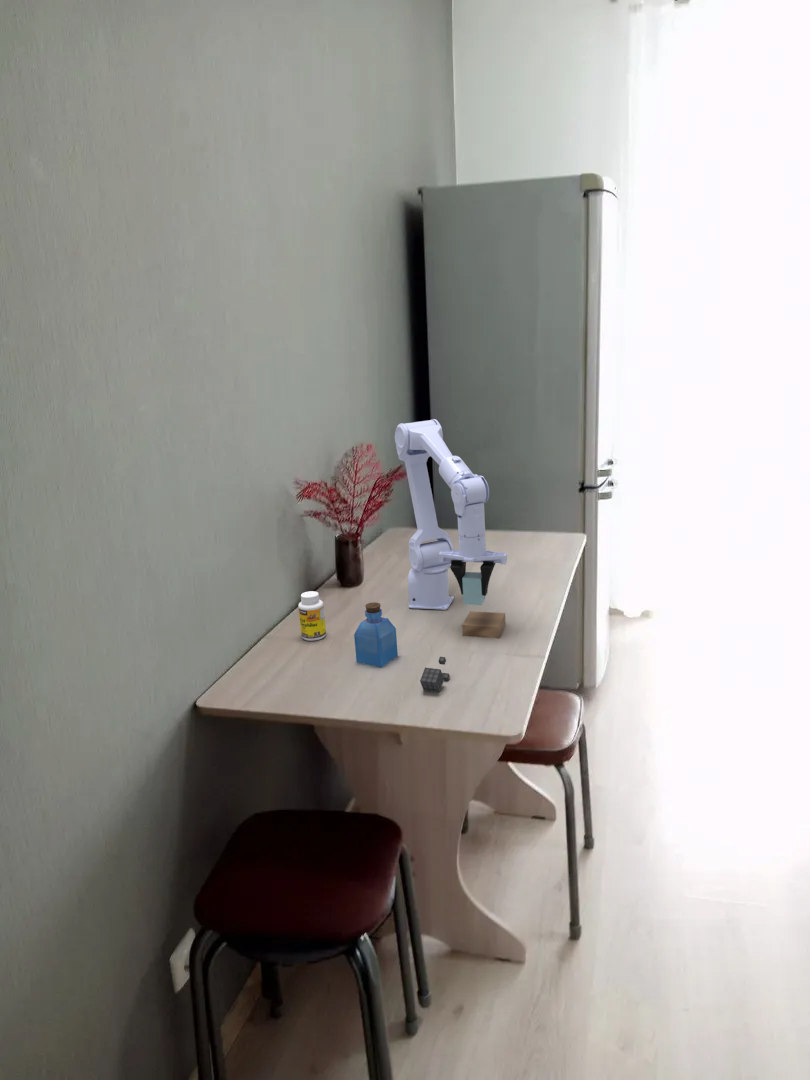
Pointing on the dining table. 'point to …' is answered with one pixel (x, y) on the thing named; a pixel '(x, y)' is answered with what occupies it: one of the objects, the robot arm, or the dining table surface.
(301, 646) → the dining table surface
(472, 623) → the walnut base block
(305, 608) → the supplement bottle
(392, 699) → the dining table surface
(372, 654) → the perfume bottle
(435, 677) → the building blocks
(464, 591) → the teal block
